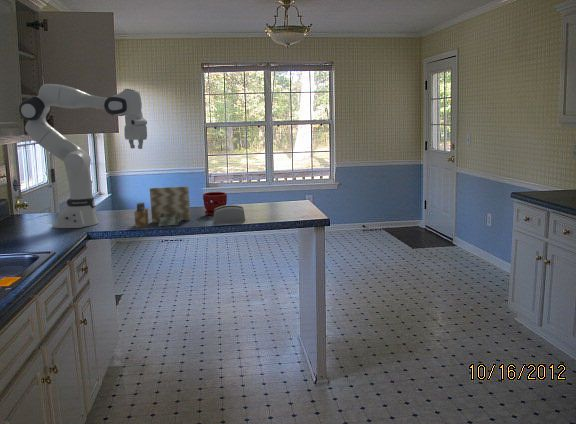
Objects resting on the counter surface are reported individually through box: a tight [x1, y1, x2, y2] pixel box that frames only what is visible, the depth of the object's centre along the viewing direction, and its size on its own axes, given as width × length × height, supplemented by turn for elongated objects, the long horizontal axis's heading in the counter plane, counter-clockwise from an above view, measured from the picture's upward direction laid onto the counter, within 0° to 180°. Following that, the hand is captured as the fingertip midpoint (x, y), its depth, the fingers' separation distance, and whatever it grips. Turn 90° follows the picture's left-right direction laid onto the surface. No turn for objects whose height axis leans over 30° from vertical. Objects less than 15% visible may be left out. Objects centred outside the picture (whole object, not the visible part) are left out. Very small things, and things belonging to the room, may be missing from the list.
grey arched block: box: [212, 204, 246, 224], centre depth 286 cm, size 17×5×10 cm, turn 103°
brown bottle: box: [134, 202, 150, 228], centre depth 285 cm, size 5×10×12 cm, turn 5°
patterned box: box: [149, 185, 192, 227], centre depth 287 cm, size 20×16×18 cm
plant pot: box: [202, 191, 228, 217], centre depth 308 cm, size 13×13×12 cm
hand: (136, 148), depth 285 cm, fingers open, 8 cm apart
